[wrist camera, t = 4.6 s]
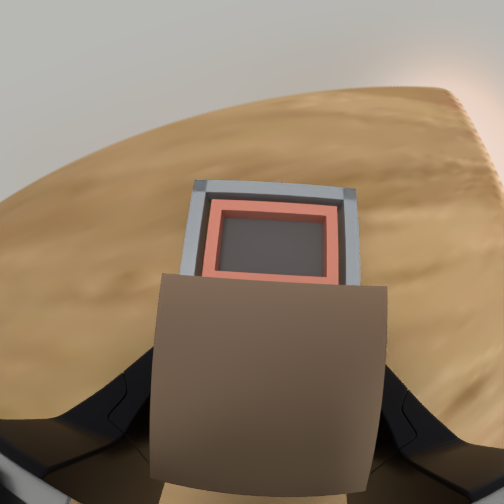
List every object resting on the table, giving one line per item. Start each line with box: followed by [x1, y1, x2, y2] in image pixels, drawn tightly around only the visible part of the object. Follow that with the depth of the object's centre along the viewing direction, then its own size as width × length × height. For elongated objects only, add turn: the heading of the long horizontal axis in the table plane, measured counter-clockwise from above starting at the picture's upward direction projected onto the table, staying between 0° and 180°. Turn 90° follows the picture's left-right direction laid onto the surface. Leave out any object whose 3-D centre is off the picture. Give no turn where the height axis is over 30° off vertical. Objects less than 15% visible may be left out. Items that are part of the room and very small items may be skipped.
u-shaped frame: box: [180, 180, 360, 286], centre depth 19 cm, size 18×12×2 cm, turn 176°
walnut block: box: [150, 273, 387, 497], centre depth 10 cm, size 4×4×11 cm
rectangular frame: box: [202, 199, 338, 285], centre depth 20 cm, size 6×9×2 cm, turn 86°
